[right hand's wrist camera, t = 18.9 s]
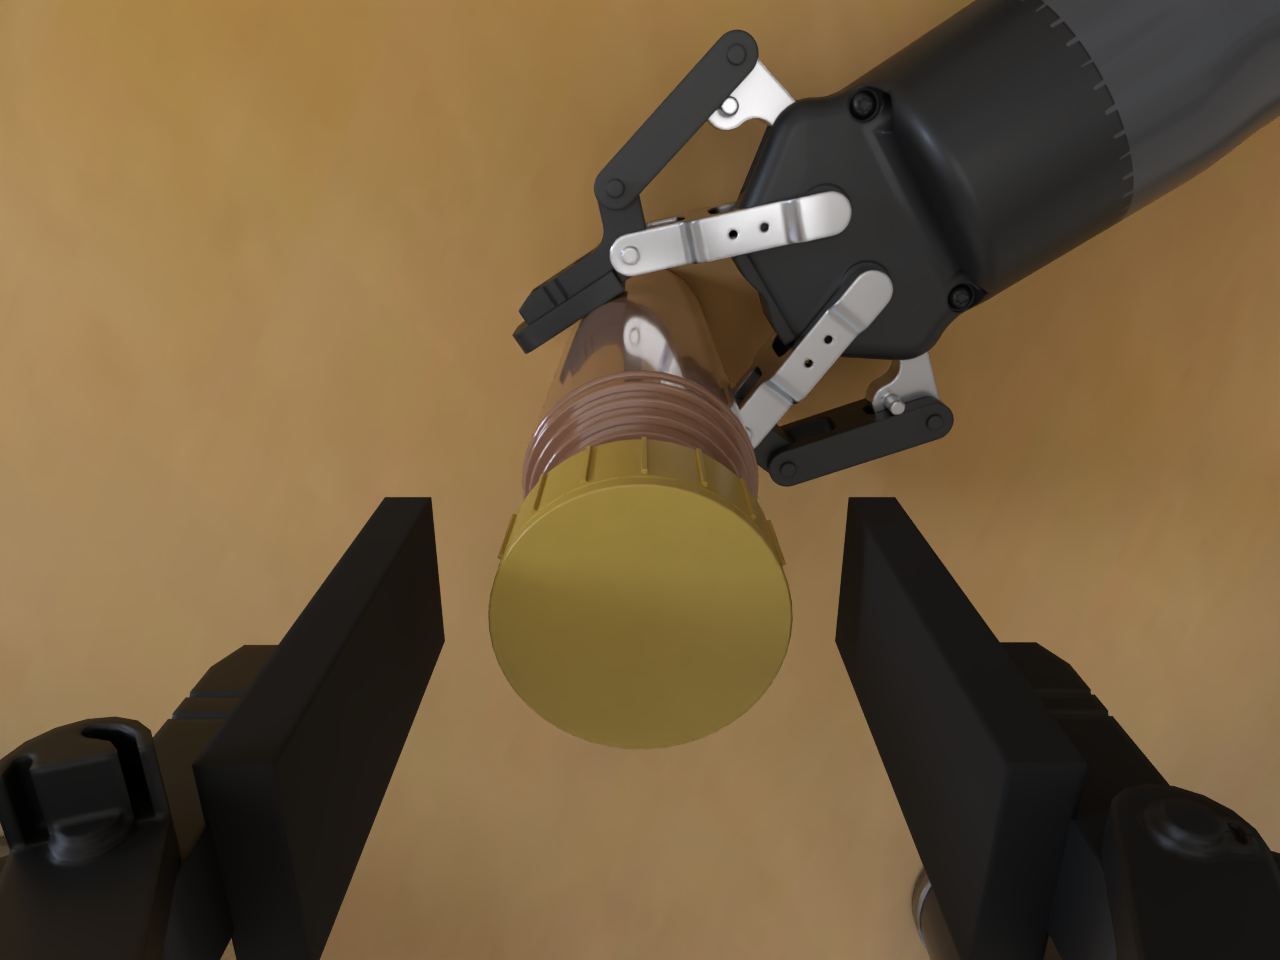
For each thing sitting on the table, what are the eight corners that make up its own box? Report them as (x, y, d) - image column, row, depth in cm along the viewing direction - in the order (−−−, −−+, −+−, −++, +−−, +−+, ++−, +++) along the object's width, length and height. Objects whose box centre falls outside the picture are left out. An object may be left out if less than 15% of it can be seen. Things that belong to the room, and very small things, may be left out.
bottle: (593, 402, 35) (528, 759, 15) (562, 279, 33) (440, 492, 13) (715, 375, 34) (821, 704, 14) (690, 250, 32) (770, 422, 12)
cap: (605, 381, 14) (600, 420, 12) (829, 533, 15) (858, 592, 13) (456, 591, 15) (429, 657, 13) (670, 718, 16) (674, 796, 14)
